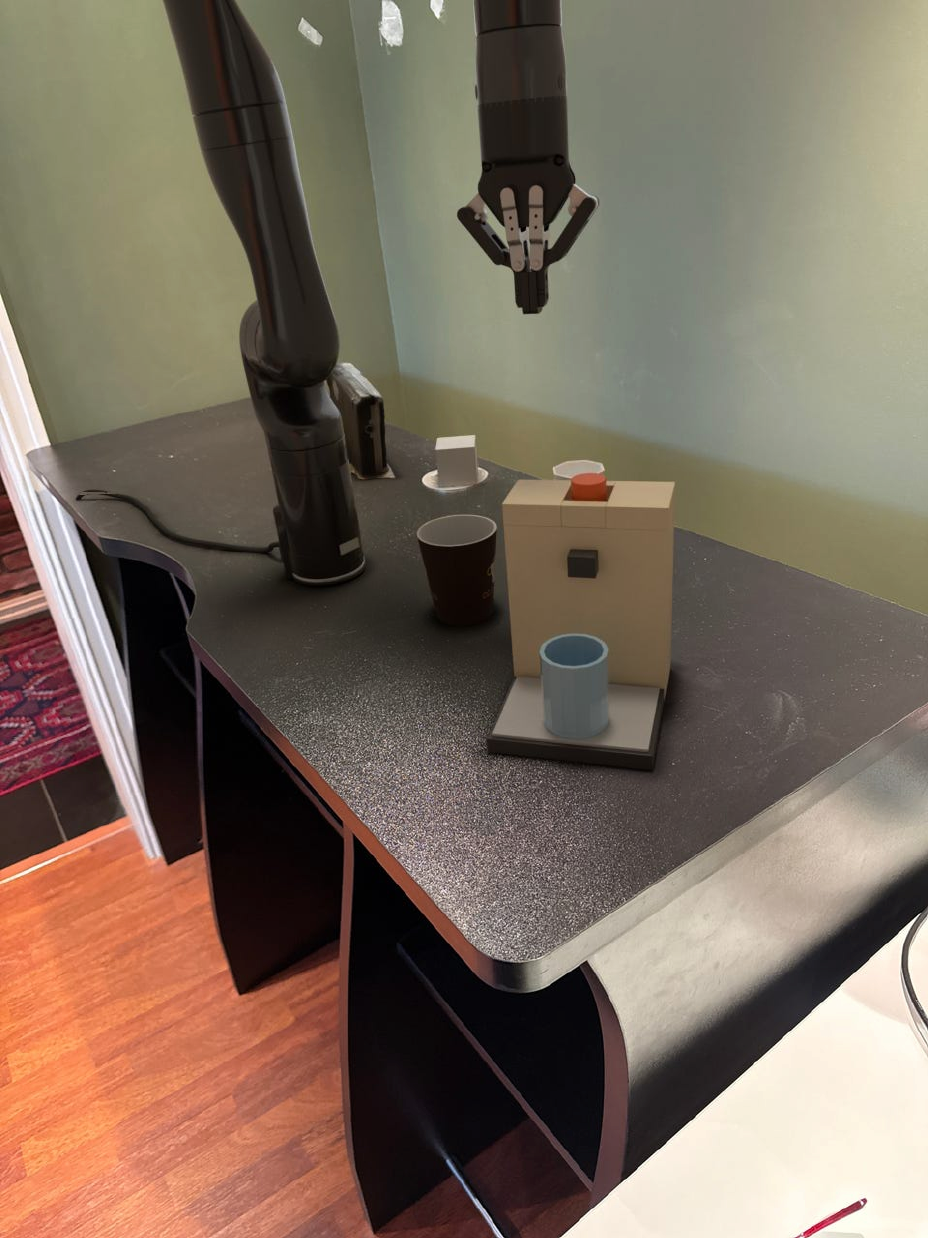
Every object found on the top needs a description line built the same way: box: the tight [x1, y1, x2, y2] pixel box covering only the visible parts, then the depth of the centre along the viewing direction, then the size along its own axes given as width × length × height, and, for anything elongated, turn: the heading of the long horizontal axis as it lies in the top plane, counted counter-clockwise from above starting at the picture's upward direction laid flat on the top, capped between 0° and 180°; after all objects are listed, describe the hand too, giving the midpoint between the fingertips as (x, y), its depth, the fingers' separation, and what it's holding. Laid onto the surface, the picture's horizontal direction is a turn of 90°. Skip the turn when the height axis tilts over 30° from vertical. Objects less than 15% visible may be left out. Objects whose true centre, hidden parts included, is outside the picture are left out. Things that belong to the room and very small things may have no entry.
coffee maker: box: [486, 479, 676, 771], centre depth 76 cm, size 14×16×19 cm
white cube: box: [434, 434, 479, 488], centre depth 137 cm, size 6×6×6 cm
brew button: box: [571, 473, 607, 502], centre depth 76 cm, size 3×3×2 cm
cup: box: [552, 459, 606, 480], centre depth 116 cm, size 7×10×8 cm
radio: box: [325, 362, 396, 480], centre depth 148 cm, size 23×9×15 cm, turn 12°
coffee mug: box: [416, 514, 498, 627], centre depth 98 cm, size 12×9×10 cm
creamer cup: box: [539, 633, 609, 739], centre depth 75 cm, size 6×6×7 cm
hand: (532, 312), depth 82 cm, fingers closed
